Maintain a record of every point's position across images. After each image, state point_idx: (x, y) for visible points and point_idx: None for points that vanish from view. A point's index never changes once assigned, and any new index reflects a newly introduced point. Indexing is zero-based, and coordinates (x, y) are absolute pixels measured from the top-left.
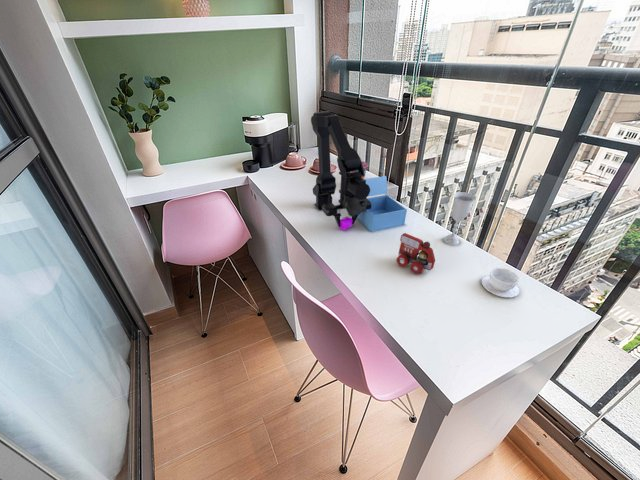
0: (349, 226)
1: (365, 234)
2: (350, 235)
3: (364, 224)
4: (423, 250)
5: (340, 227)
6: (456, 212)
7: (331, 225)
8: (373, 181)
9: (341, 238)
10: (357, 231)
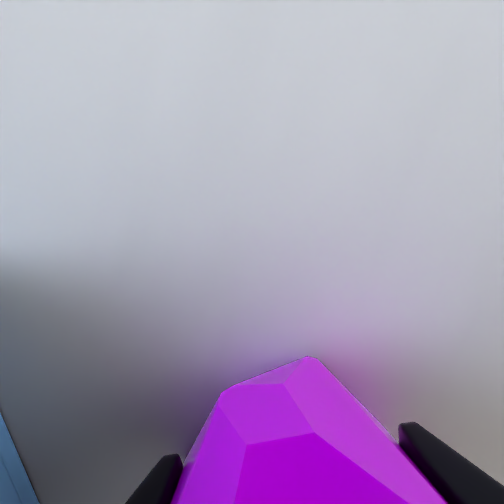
0: (265, 384)
1: (35, 197)
2: (278, 213)
3: (5, 445)
4: None
5: (377, 422)
6: None
7: None
8: None
9: (448, 152)
10: (143, 303)
